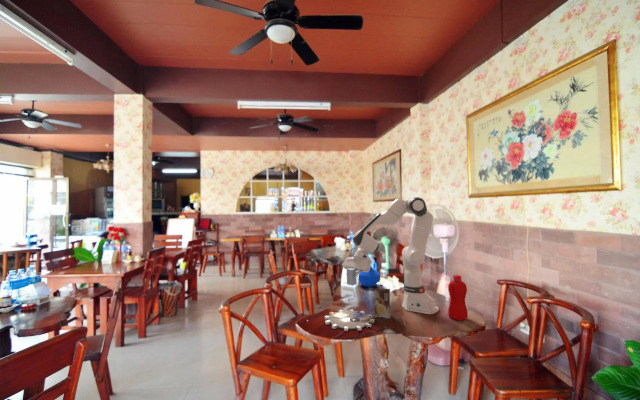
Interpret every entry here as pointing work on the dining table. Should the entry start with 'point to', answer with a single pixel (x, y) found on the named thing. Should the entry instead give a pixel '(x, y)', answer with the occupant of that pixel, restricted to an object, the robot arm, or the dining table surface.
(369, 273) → the vase
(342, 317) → the sprocket
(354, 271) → the drive pin
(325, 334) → the dining table surface
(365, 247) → the robot arm
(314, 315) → the dining table surface
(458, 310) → the water bottle
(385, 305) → the coffee box
